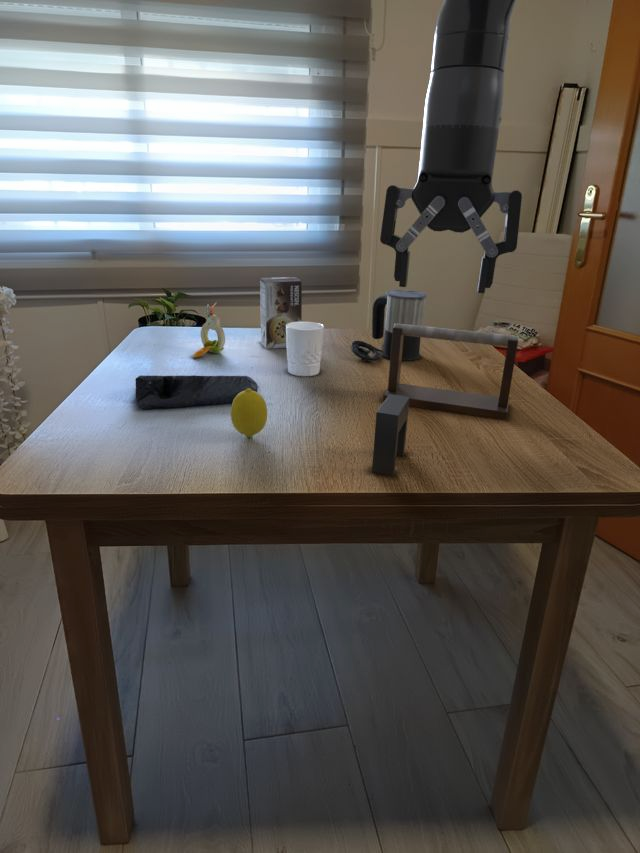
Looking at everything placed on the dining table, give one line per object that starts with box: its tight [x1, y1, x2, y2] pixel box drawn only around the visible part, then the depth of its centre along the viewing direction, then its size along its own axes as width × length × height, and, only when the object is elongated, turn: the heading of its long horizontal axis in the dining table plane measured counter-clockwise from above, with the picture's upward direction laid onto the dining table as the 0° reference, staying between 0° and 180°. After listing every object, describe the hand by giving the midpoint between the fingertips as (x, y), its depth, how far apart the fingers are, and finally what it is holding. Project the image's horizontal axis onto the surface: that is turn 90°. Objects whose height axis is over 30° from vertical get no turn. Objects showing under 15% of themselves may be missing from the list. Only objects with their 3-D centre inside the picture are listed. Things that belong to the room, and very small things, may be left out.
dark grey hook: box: [371, 394, 410, 477], centre depth 81 cm, size 3×8×9 cm, turn 161°
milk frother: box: [350, 289, 428, 362], centre depth 132 cm, size 14×16×15 cm
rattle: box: [192, 301, 226, 359], centre depth 131 cm, size 8×8×12 cm
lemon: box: [230, 388, 268, 439], centre depth 88 cm, size 6×6×8 cm
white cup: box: [286, 320, 325, 377], centre depth 120 cm, size 8×8×10 cm
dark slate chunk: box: [134, 374, 259, 410], centre depth 105 cm, size 15×22×5 cm
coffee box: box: [259, 276, 303, 350], centre depth 139 cm, size 9×6×16 cm
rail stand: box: [382, 323, 520, 421], centre depth 104 cm, size 22×8×14 cm, turn 71°
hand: (441, 289), depth 64 cm, fingers open, 8 cm apart
